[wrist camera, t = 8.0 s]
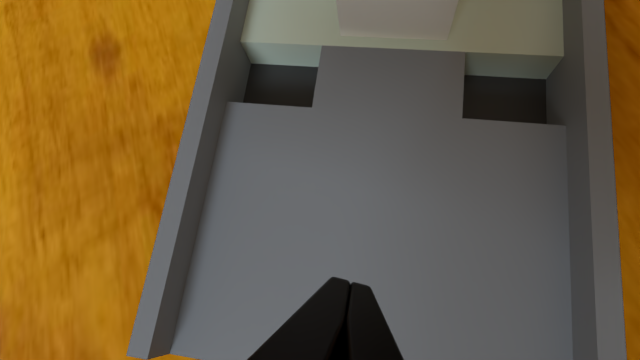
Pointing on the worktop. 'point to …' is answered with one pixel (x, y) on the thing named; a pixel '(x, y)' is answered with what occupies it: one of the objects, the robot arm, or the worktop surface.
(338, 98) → the gray open tray
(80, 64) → the worktop surface
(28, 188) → the worktop surface
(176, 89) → the worktop surface
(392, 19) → the cream block
